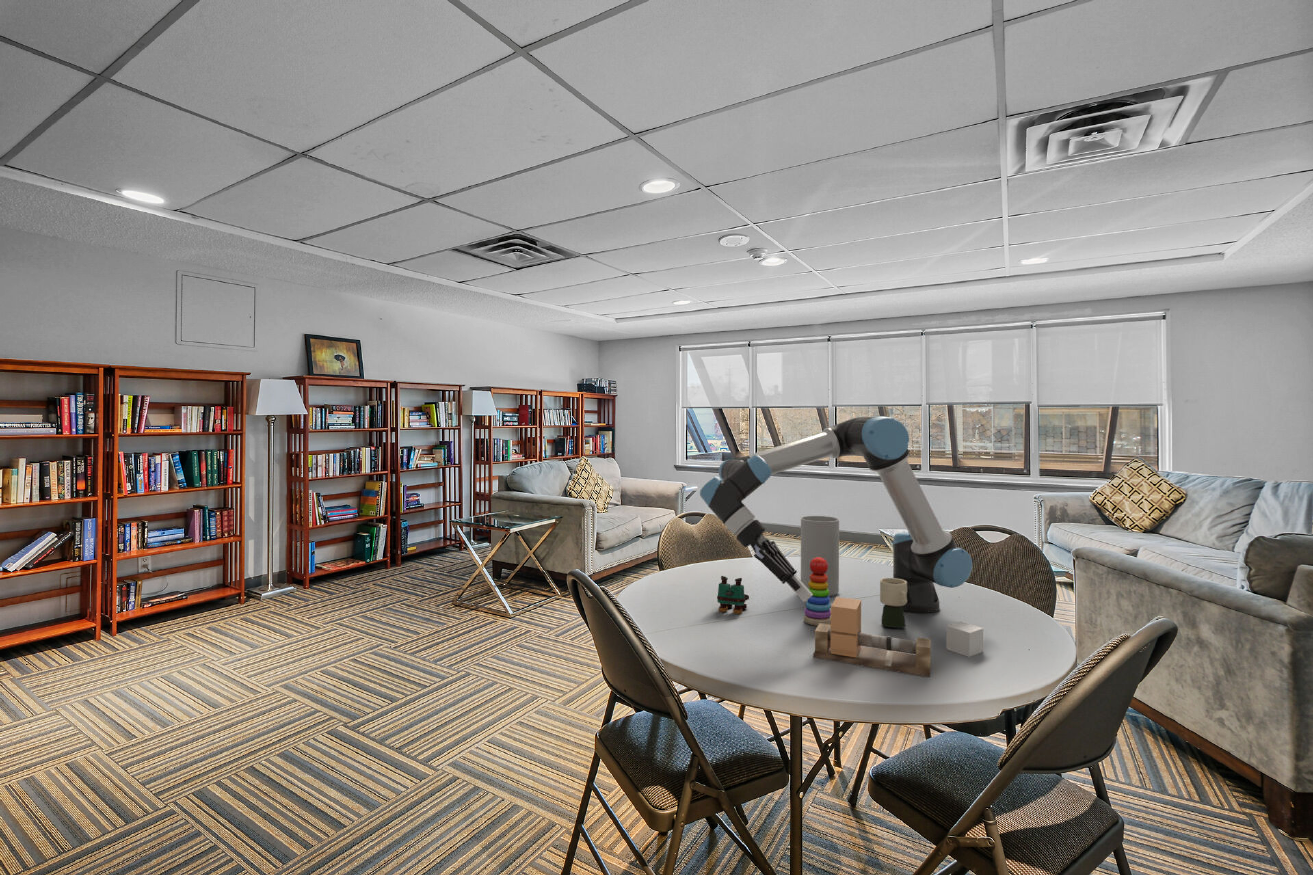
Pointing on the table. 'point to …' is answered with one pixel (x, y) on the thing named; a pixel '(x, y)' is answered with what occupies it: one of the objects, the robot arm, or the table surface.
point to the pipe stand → (879, 652)
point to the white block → (965, 638)
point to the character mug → (893, 601)
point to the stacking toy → (818, 594)
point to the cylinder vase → (820, 548)
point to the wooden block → (845, 626)
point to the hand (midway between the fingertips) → (808, 598)
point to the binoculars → (731, 596)
